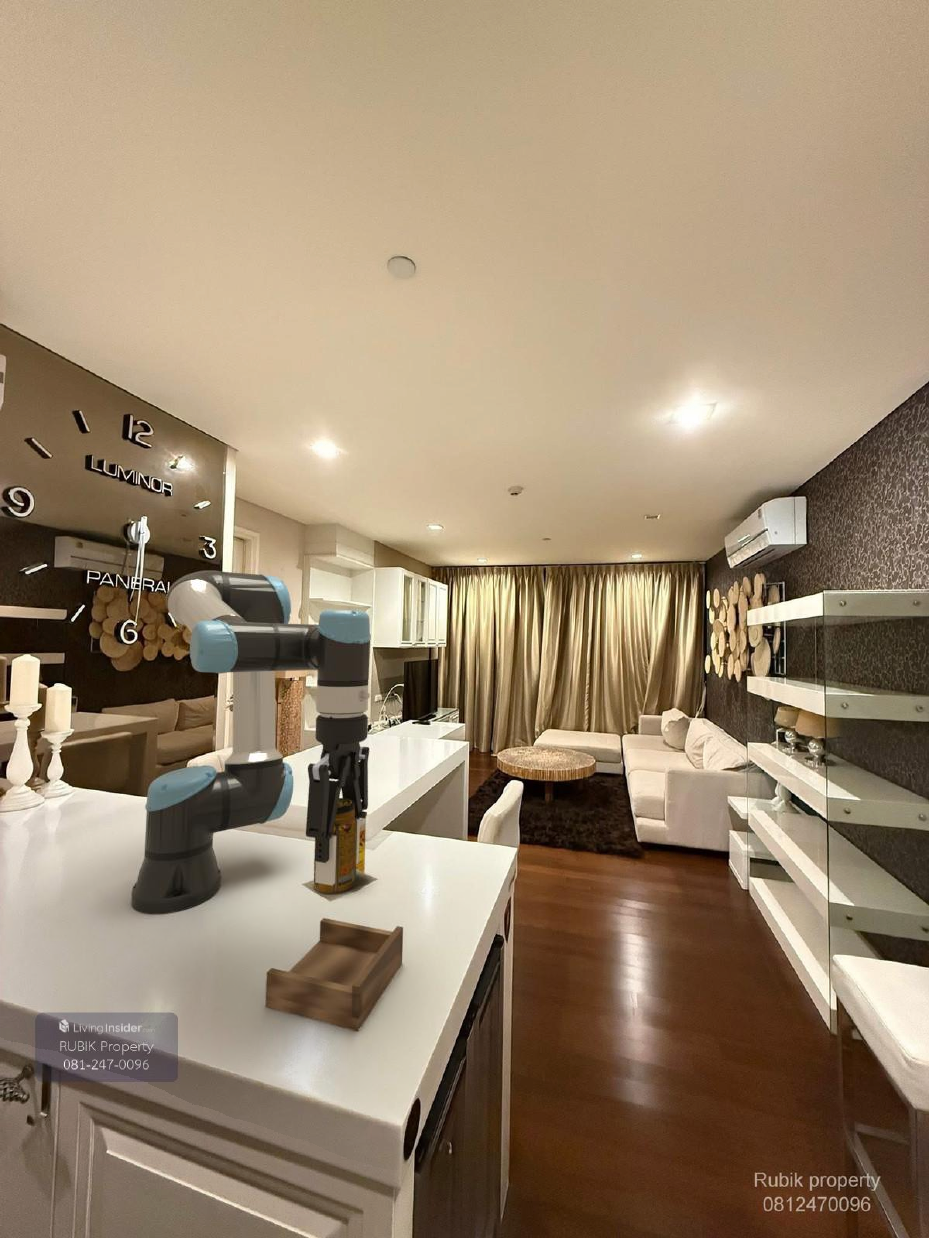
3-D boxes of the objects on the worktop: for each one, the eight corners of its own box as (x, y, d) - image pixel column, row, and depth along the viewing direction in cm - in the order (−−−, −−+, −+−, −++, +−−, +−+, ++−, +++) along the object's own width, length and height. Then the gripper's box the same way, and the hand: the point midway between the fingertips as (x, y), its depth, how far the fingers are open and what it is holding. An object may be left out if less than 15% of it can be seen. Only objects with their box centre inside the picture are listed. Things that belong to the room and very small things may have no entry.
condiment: (301, 885, 73) (303, 802, 73) (349, 866, 79) (351, 790, 80) (330, 903, 68) (332, 814, 69) (378, 881, 74) (380, 800, 75)
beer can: (356, 895, 97) (358, 817, 98) (327, 891, 98) (330, 814, 99) (368, 880, 103) (370, 807, 104) (341, 877, 104) (343, 804, 105)
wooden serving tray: (265, 1006, 67) (266, 964, 68) (322, 946, 81) (323, 911, 81) (358, 1031, 63) (359, 986, 64) (402, 963, 77) (403, 927, 77)
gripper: (329, 725, 64) (324, 909, 63) (392, 707, 82) (389, 849, 81) (280, 721, 66) (274, 899, 65) (351, 704, 84) (348, 843, 83)
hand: (337, 871), depth 73 cm, fingers closed on condiment, 6 cm apart
